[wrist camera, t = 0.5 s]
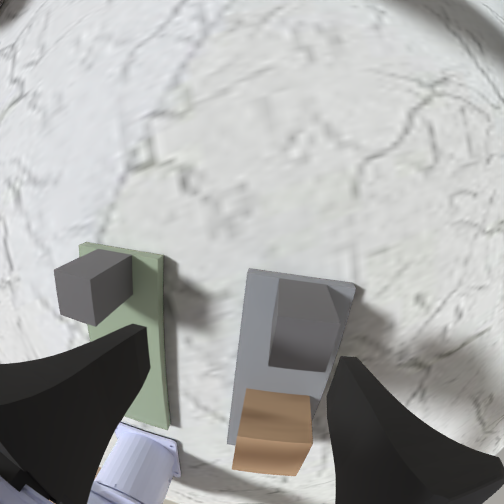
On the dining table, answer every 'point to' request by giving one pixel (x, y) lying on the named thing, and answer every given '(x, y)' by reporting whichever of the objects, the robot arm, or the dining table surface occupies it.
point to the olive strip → (121, 311)
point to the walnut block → (273, 433)
